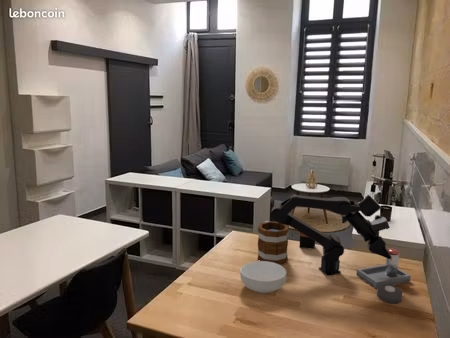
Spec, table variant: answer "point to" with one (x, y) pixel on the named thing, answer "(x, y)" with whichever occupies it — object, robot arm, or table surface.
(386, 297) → the trolley wheel
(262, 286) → the cereal bowl
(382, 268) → the tray
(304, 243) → the battery
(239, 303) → the table surface
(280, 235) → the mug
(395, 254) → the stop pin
